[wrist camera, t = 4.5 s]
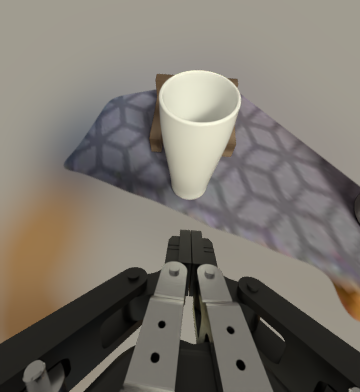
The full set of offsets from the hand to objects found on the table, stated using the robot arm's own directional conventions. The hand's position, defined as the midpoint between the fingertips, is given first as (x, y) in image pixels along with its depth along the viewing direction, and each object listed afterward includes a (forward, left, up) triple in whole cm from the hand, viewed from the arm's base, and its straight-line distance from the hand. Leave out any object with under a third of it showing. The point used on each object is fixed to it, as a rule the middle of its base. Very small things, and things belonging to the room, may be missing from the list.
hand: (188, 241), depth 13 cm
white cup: (-4, -10, -12) cm, 16 cm away
